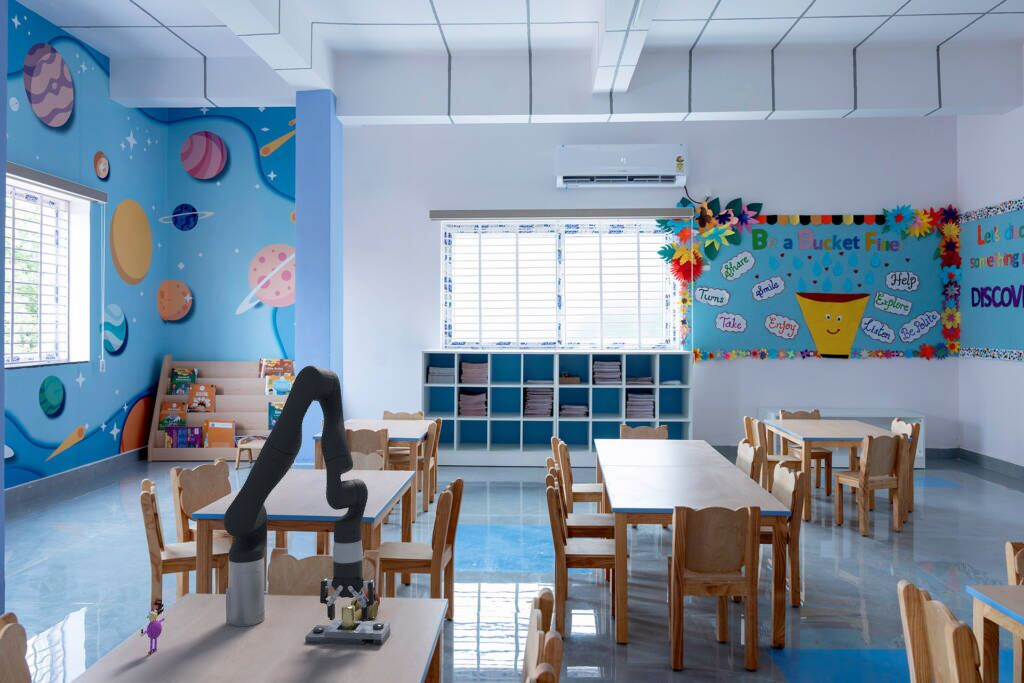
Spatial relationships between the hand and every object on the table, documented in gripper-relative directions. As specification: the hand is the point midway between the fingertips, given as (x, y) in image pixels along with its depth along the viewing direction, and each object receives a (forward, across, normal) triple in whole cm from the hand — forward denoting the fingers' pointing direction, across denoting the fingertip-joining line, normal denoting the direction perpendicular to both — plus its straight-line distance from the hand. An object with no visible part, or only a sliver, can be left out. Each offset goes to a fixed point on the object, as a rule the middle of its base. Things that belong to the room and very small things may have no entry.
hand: (348, 620), depth 199 cm
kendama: (+5, -1, +13) cm, 14 cm away
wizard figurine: (+5, -45, -14) cm, 47 cm away
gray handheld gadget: (+5, 0, 0) cm, 5 cm away
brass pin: (+5, 0, 0) cm, 5 cm away
